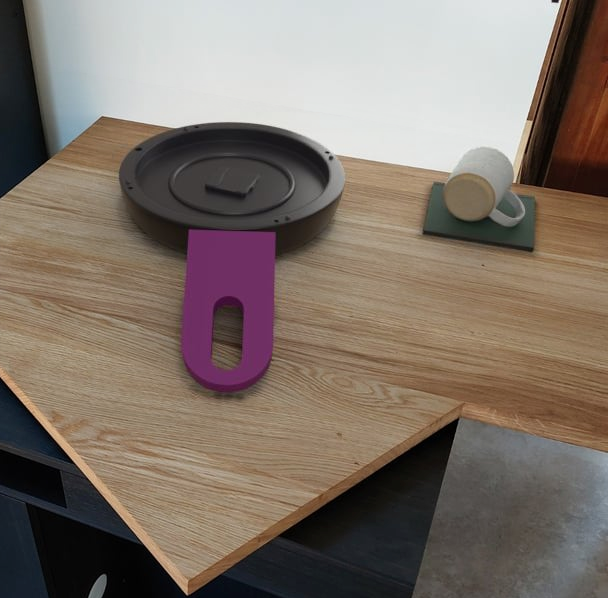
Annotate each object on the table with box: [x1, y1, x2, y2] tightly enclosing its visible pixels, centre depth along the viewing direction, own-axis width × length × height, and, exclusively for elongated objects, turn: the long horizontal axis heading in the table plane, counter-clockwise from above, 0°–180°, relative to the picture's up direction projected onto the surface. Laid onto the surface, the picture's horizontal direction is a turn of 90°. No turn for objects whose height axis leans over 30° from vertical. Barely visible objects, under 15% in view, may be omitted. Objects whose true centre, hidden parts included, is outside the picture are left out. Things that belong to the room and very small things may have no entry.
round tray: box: [118, 121, 346, 256], centre depth 105 cm, size 30×6×30 cm
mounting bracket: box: [180, 230, 276, 393], centre depth 85 cm, size 10×8×18 cm
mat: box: [422, 180, 536, 253], centre depth 106 cm, size 14×14×1 cm
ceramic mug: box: [443, 146, 525, 227], centre depth 103 cm, size 11×8×8 cm
